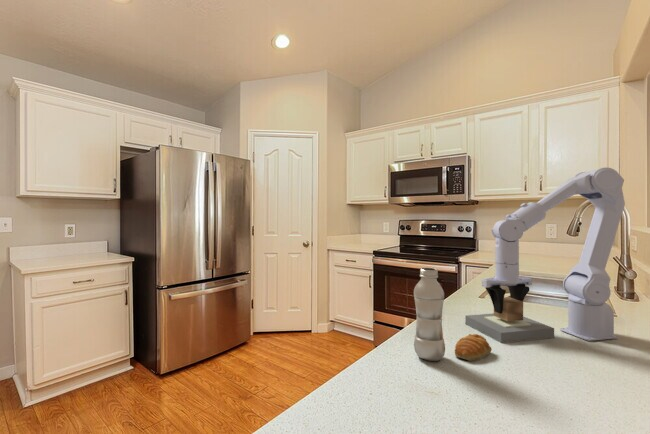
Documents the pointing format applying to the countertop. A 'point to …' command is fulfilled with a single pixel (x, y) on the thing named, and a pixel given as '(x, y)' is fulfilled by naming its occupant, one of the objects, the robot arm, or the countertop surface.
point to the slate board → (509, 328)
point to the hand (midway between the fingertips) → (507, 311)
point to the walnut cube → (511, 310)
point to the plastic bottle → (429, 316)
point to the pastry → (472, 347)
